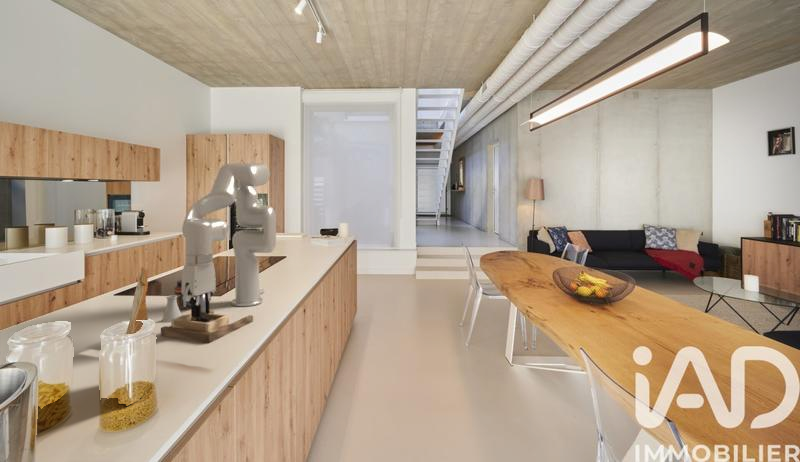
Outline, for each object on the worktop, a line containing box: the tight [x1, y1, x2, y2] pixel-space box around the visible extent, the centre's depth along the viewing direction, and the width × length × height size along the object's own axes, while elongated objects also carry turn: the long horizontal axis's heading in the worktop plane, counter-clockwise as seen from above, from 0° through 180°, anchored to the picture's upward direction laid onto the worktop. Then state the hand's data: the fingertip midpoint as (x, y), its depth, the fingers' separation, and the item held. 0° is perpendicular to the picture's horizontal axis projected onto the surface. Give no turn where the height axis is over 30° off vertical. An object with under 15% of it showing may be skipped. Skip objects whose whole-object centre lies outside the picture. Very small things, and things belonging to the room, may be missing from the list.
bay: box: [160, 310, 254, 344], centre depth 124 cm, size 21×18×4 cm
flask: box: [161, 294, 183, 323], centre depth 132 cm, size 7×7×10 cm
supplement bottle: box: [174, 279, 191, 311], centre depth 150 cm, size 6×6×11 cm
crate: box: [170, 312, 230, 332], centre depth 120 cm, size 9×14×5 cm, turn 76°
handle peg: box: [196, 293, 206, 322], centre depth 120 cm, size 3×3×13 cm
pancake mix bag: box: [125, 266, 149, 335], centre depth 86 cm, size 7×19×28 cm, turn 27°
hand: (200, 314), depth 120 cm, fingers closed on handle peg, 3 cm apart
